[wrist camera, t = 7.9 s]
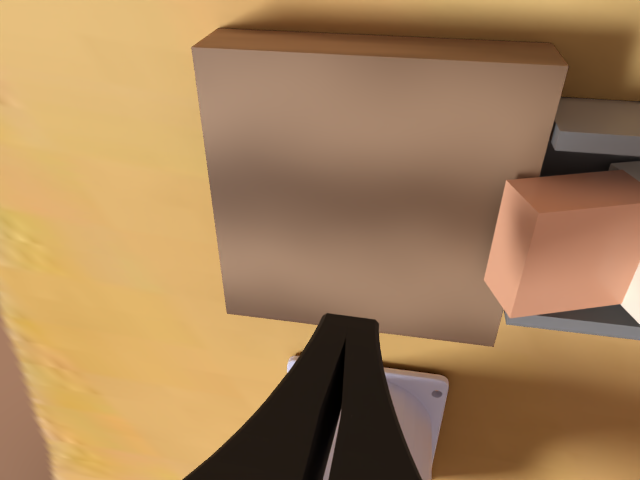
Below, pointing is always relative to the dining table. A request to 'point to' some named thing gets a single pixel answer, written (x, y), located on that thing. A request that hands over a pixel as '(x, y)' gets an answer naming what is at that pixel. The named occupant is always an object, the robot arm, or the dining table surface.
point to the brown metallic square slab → (369, 171)
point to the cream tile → (636, 299)
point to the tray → (584, 157)
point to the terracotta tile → (565, 242)
